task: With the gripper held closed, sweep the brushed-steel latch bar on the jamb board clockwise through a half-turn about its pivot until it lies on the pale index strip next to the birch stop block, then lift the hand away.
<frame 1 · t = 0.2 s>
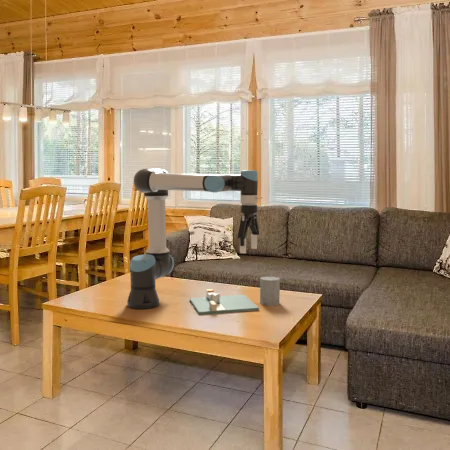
hand: (248, 250, 224), 28 cm above the table, fingers open, 13 cm apart
jamb board: (223, 305, 234), on the table
latch bar: (212, 296, 237), point 4 cm above the table, hinge at 0.0°
speckled grey cylinder: (269, 303, 238), on the table
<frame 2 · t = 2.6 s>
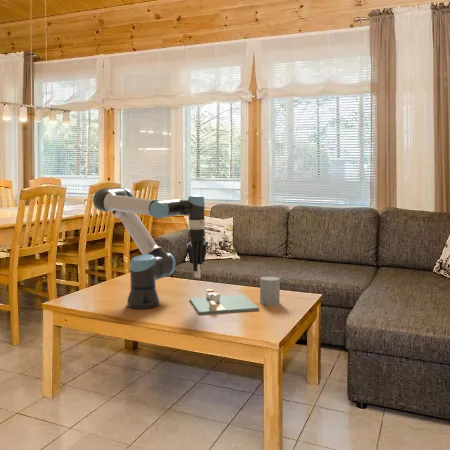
hand: (197, 277, 234), 13 cm above the table, fingers closed
nothing on the table moved.
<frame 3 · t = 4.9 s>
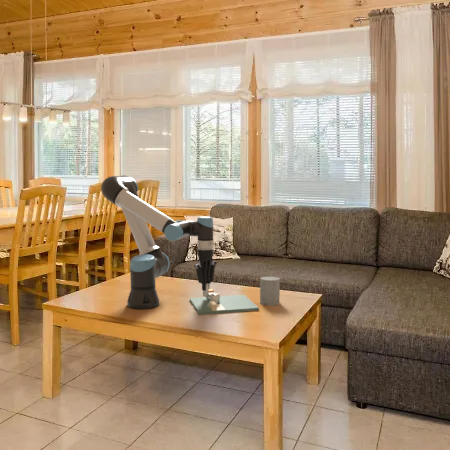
hand: (205, 296, 239), 3 cm above the table, fingers closed
latch bar: (212, 296, 237), point 3 cm above the table, hinge at 0.1°, touching gripper
everything else where it was.
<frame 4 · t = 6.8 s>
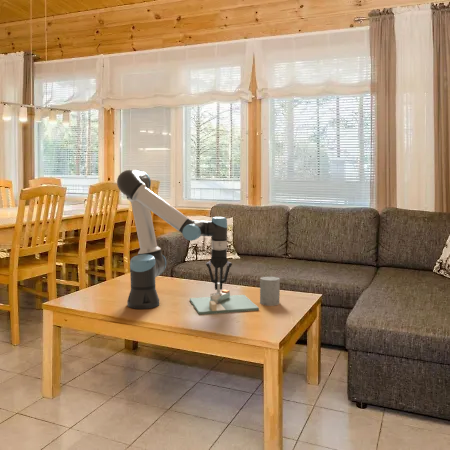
hand: (218, 295, 241), 2 cm above the table, fingers closed
latch bar: (220, 296, 237), point 4 cm above the table, hinge at 42.8°, touching gripper
everything else where it was.
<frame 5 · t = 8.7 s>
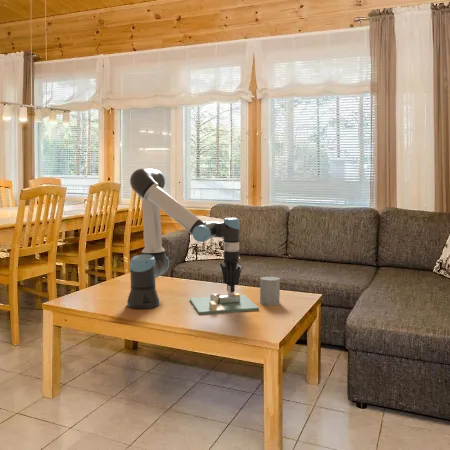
hand: (230, 298, 237), 2 cm above the table, fingers closed
latch bar: (225, 298, 234), point 3 cm above the table, hinge at 90.2°, touching gripper
everything else where it was.
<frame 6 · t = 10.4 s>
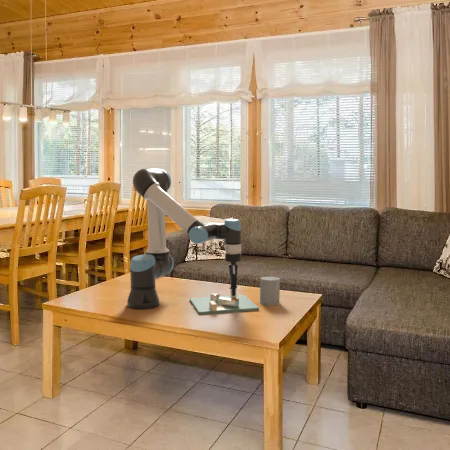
hand: (233, 301, 231), 3 cm above the table, fingers closed
latch bar: (223, 300, 230), point 4 cm above the table, hinge at 133.7°, touching gripper
everything else where it was.
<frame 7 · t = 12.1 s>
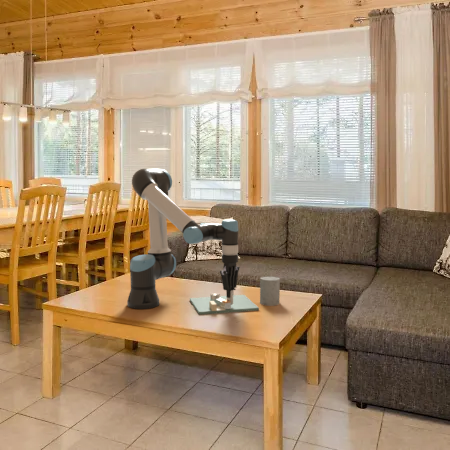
hand: (229, 303, 227), 3 cm above the table, fingers closed
latch bar: (220, 301, 228), point 4 cm above the table, hinge at 163.6°
everything else where it was.
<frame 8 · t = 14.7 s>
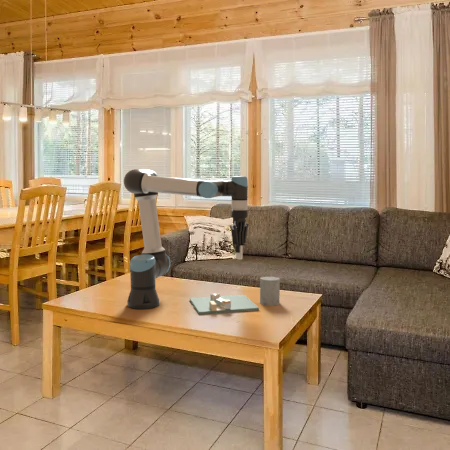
hand: (239, 259, 231), 22 cm above the table, fingers closed
nothing on the table moved.
at the end: latch bar at +164° (first picture: +0°) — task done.
